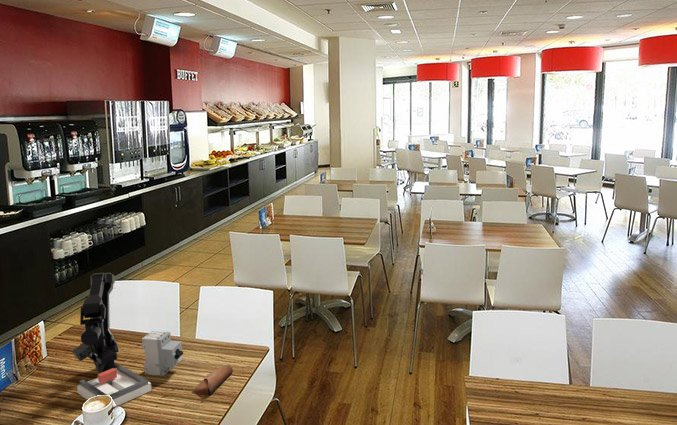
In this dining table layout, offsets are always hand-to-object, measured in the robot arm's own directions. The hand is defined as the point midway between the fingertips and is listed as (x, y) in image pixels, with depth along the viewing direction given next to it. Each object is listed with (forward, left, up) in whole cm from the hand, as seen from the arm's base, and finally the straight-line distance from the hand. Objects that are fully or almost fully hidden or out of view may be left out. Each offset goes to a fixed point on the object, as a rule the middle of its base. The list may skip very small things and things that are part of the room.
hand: (100, 372), depth 207 cm
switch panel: (+10, 0, -4) cm, 11 cm away
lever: (+6, 0, -4) cm, 7 cm away
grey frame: (+10, 0, -2) cm, 10 cm away
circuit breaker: (+11, +21, -5) cm, 24 cm away
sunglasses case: (+34, +27, -5) cm, 43 cm away
